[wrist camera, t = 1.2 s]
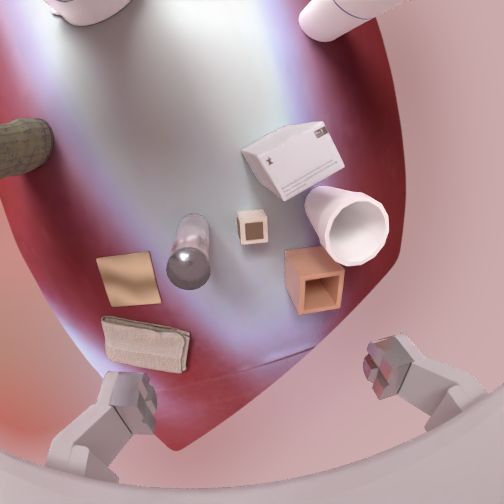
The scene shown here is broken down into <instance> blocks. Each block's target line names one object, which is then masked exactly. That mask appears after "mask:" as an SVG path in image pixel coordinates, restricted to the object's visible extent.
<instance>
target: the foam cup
mask: <svg viewBox="0 0 504 504" xmlns="http://www.w3.org/2000/svg"><path fill="white" fill-rule="evenodd" d="M304 207H305V212H306V215H307V217H308V218H309V220H310V222H311V224H312V226H313V227H314V229H315V231H316V233H317V235H318V237H319V239H320V243H321V245H322V246H323V247H324V249H325V250H326V251H327V253H328V254H329V255H330V256H331V257H332V258H333V260H334V261H335V262H338V263H340V264H343V265H345V266H355V265H362V264H364V263H365V262H367V261H369V260H370V259H372V258H374V257H375V256H376V254H377V253H378V252H379V251H380V250H381V248H382V247H383V246H384V244H385V241H386V238H387V235H388V232H389V219H388V215H387V213H386V211H385V209H384V207H383V205H382V204H381V203H380V202H378V201H376V200H375V199H373V198H371V197H370V196H368V195H366V194H364V193H362V192H352V191H348V190H343V189H339V188H334V187H330V186H318V187H316V188H314V189H312V190H311V191H310V193H309V194H308V195H307V196H306V200H305V203H304Z"/></svg>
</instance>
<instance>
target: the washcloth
mask: <svg viewBox="0 0 504 504" xmlns="http://www.w3.org/2000/svg"><path fill="white" fill-rule="evenodd" d="M101 323H102V328H103V332H104V335H105V340H106V341H105V350H106V356H107V358H108V359H109V360H111V361H114V362H118V363H122V364H123V363H124V364H129V365H133V366H137V367H141V368H142V367H143V368H147V369H154V370H161V371H166V372H172V373H182V371H184V370H186V359H187V352H188V345H189V340H190V337H189V335H190V334H189V332H187V331H183V330H181V329H175V328H172V327H169V326H162V325H156V324H151V323H145V322H139V321H133V320H127V319H122V318H118V317H113V316H103V317H102V318H101Z"/></svg>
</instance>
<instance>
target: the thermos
mask: <svg viewBox="0 0 504 504" xmlns="http://www.w3.org/2000/svg"><path fill="white" fill-rule="evenodd" d="M53 143H54V141H53V133H52V129H51V127H50V126H49V124H48V123H47V122H46V121H44V120H43V119H33V118H21V119H16V120H14V121H11V122H10V123H4V124H0V179H2V178H4V177H7V176H18V175H22V174H25V173H27V172H30V171H32V170H34V169H35V168H39V167H40V166H42V165H43V164H45V162H46V161H47V160H48V159H49V157H50V154H51V152H52V149H53Z"/></svg>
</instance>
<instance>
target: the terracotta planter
mask: <svg viewBox="0 0 504 504" xmlns="http://www.w3.org/2000/svg"><path fill="white" fill-rule="evenodd" d="M344 273H345V269H344V268H343V267H342V266H341V265H340V264H339V263H338V262H335V261H334V260H333V258H332V257H331V256H330V255H329V254H328V253H327V251H326V250H325V249H324V247H323V246H316V247H307V248H299V249H290V250H285V286H286V288H287V291H288V293H289V295H290V297H291V299H292V301H293V304H294V306H295V308H296V310H297V312H298V315H303V314H309V313H315V312H321V311H326V310H332V309H337V308H340V305H341V298H342V290H343V282H344Z"/></svg>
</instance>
